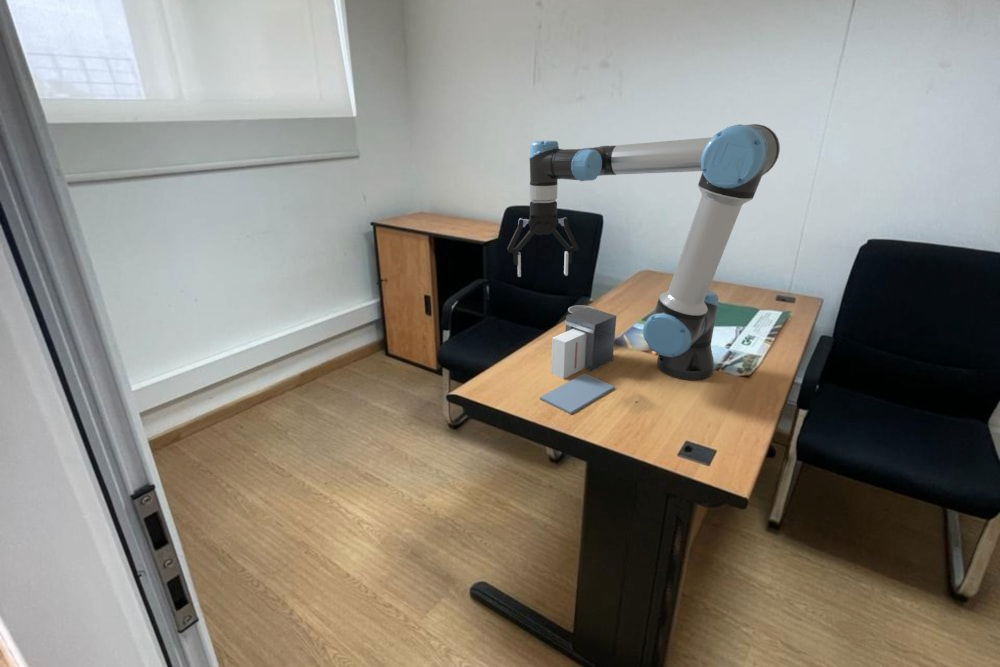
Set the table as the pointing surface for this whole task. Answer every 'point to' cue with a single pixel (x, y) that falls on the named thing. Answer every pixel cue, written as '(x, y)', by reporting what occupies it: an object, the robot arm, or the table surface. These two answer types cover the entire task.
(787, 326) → the table surface
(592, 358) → the dispenser
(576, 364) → the white block
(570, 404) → the mat
